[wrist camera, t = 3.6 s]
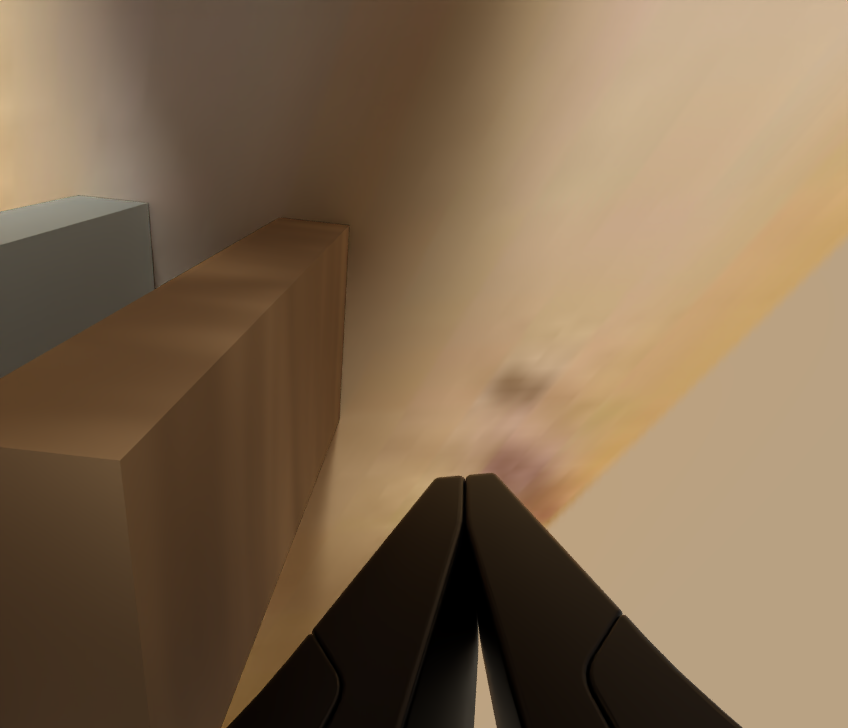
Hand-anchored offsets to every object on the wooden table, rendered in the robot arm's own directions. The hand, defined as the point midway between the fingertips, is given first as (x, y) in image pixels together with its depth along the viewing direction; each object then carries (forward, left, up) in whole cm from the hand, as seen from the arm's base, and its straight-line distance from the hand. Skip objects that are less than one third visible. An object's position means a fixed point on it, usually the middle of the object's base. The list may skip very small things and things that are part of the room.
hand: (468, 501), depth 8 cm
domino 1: (+3, -2, -6) cm, 7 cm away
